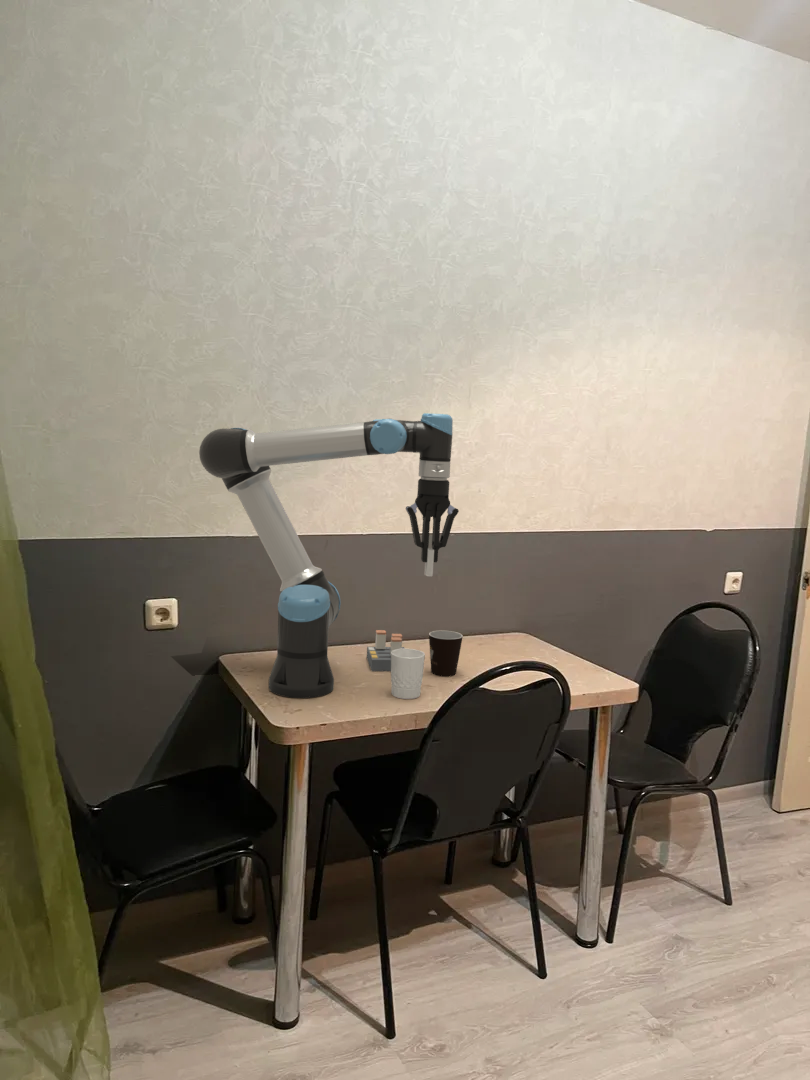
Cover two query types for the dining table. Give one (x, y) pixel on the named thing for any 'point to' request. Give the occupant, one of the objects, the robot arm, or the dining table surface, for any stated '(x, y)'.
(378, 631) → the slider
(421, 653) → the white cup
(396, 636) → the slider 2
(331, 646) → the dining table surface
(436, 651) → the coffee mug
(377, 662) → the grey slotted tray
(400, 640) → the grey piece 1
